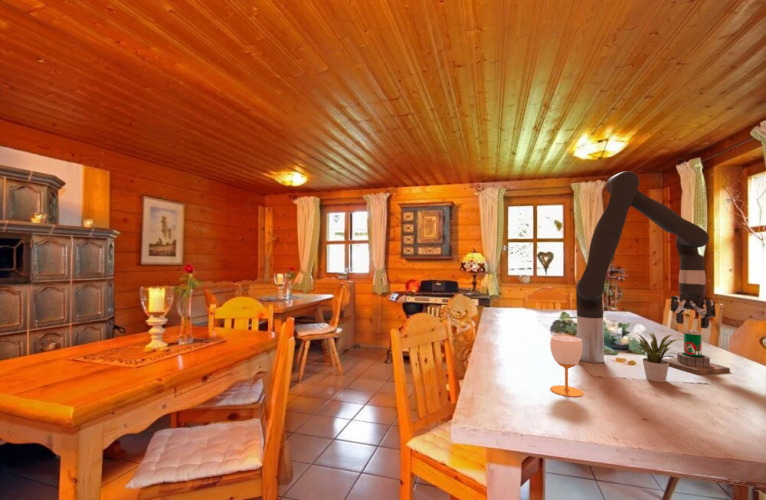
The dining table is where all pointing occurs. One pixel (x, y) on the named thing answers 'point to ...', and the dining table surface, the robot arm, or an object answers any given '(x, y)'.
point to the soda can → (693, 343)
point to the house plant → (656, 358)
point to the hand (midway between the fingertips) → (692, 325)
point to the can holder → (696, 364)
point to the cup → (566, 361)
